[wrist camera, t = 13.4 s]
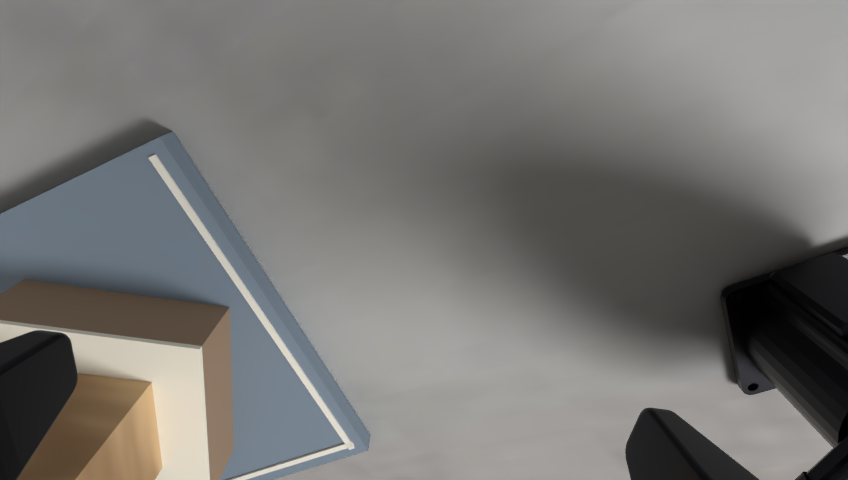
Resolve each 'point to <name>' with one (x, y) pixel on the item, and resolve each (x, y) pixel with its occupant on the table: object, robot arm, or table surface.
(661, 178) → the table surface
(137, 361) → the board
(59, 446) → the oak post
